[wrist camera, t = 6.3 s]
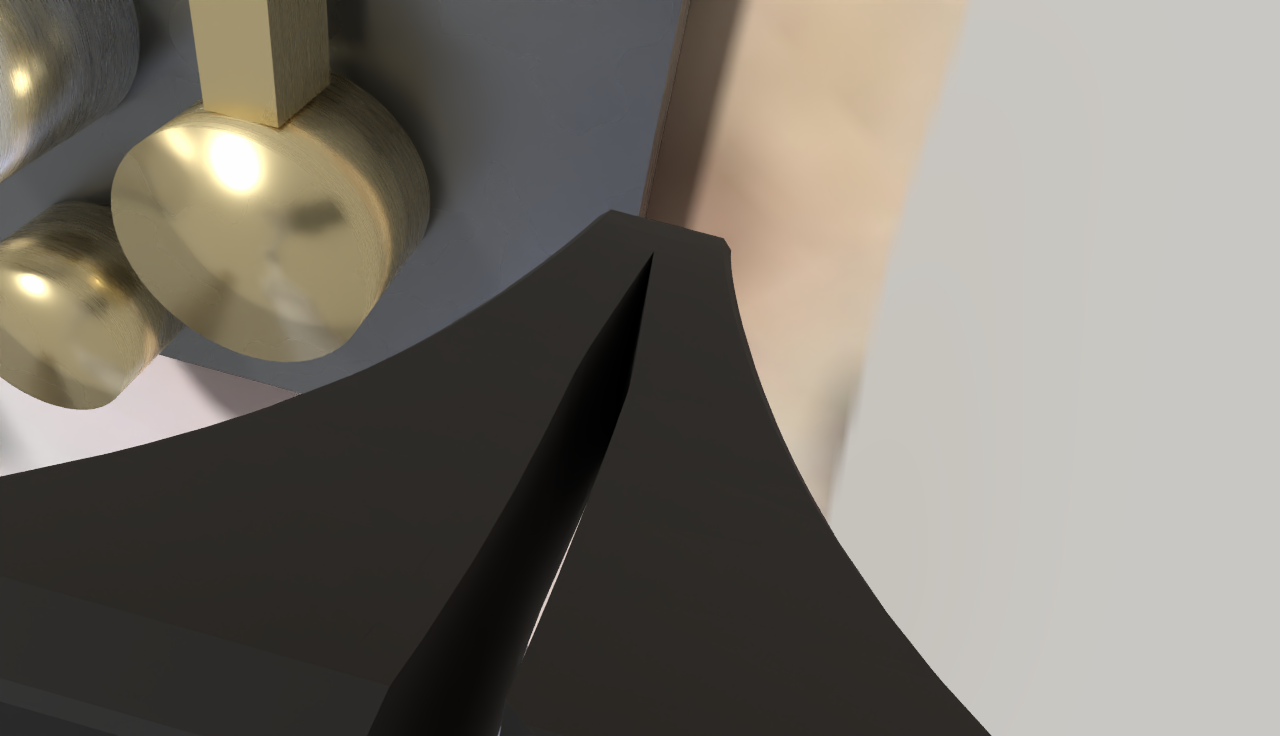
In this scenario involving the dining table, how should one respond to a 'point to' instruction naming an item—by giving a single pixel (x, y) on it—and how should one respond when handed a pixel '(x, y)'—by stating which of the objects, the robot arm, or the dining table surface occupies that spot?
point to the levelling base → (396, 77)
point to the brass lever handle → (271, 189)
